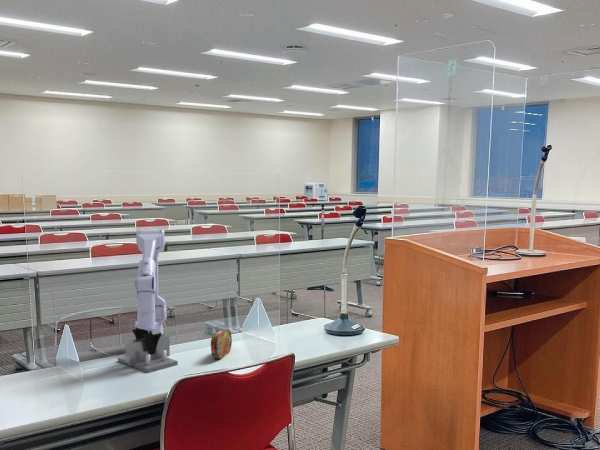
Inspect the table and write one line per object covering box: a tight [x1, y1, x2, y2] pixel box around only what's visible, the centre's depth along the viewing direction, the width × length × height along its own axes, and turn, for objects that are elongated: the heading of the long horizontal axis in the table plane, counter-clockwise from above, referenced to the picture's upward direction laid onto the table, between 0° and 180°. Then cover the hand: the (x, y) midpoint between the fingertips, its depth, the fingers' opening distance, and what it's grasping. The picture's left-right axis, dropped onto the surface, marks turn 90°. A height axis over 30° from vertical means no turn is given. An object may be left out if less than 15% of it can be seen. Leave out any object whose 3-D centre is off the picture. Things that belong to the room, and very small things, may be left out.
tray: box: [117, 350, 178, 374], centre depth 179 cm, size 19×11×4 cm, turn 48°
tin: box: [210, 328, 233, 360], centre depth 187 cm, size 15×3×8 cm, turn 168°
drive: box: [124, 333, 171, 365], centre depth 179 cm, size 4×14×7 cm, turn 130°
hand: (147, 351), depth 178 cm, fingers open, 7 cm apart
